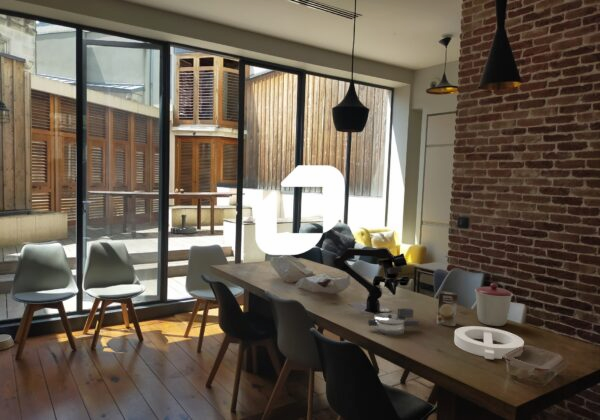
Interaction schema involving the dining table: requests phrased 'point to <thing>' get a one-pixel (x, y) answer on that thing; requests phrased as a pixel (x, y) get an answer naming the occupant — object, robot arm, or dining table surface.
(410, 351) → the dining table surface
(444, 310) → the coffee box
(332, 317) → the dining table surface
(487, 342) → the ring with crossbar
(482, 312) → the canister
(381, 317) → the lid
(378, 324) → the pot
